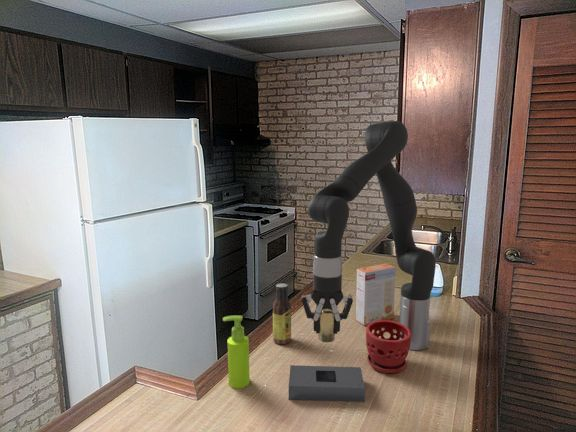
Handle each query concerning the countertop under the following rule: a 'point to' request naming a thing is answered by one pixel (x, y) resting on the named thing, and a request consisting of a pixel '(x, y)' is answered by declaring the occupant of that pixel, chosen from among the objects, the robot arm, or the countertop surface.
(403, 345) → the plant pot
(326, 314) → the gold cylinder
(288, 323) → the sauce bottle
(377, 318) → the cracker box
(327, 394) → the jig
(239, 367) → the soap dispenser
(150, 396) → the countertop surface
